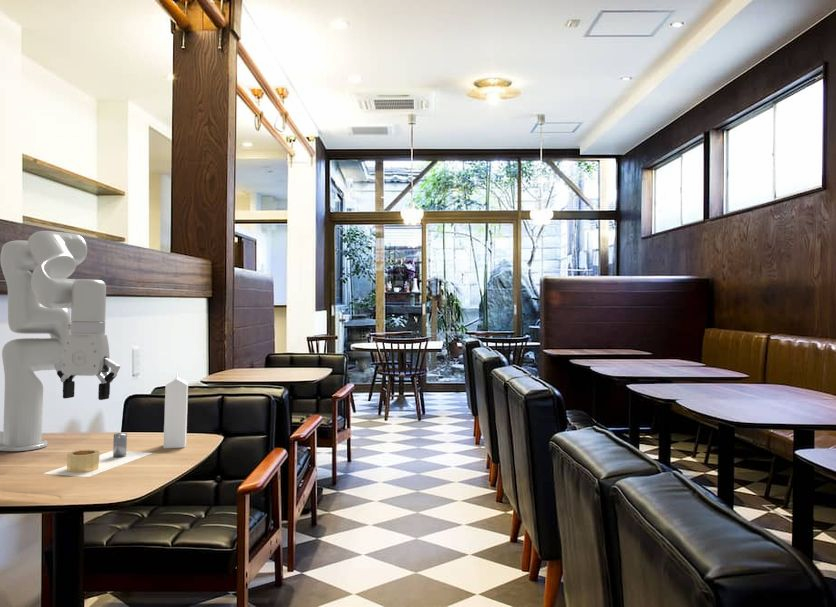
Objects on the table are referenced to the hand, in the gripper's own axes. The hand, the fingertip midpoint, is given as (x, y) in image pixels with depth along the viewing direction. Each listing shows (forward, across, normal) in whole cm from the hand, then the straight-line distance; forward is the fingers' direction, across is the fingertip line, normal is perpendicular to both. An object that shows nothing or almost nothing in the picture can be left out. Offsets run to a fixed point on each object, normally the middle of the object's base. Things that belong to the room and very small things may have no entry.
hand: (86, 398), depth 154 cm
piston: (+17, 0, +14) cm, 22 cm away
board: (+19, 0, +7) cm, 20 cm away
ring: (+17, 0, 0) cm, 17 cm away
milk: (+19, +3, +36) cm, 41 cm away
